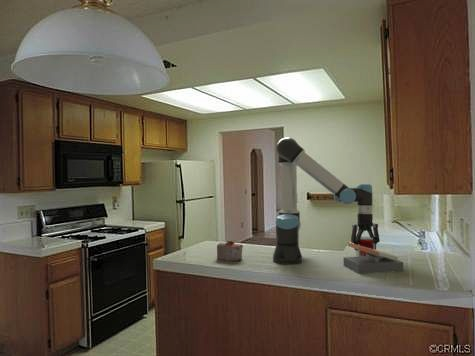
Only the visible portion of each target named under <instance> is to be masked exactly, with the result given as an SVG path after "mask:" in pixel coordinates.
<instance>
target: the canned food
mask: <svg viewBox="0 0 475 356" xmlns="http://www.w3.org/2000/svg"><path fill="white" fill-rule="evenodd" d="M358 244H359V245H360V246H363V247H367V248H371V249H373V238H371V237H370V236H362V235H361V238H360V241H359V243H358ZM366 254H369V253H366V252H364V251H360V256H366Z"/></svg>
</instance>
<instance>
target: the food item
mask: <svg viewBox="0 0 475 356" xmlns="http://www.w3.org/2000/svg"><path fill="white" fill-rule="evenodd" d="M243 248H244V245H243V244H240V243H239V244H238V243H235V241H233V240H230V241H229V240H228V241H227V242H219V243H217V245H216V259H217V260H218V261H219V260H220V261H226V262H229V261H230V262H231V261H233V262H238V261H241V260H242V259H243Z"/></svg>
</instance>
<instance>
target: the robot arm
mask: <svg viewBox="0 0 475 356" xmlns="http://www.w3.org/2000/svg"><path fill="white" fill-rule="evenodd" d="M276 153H277V154H278V155H277V157H278V158H277V159H278V160H277V162H278V165H279V166H280V169H281V170H280V172H281V173H280V178H281V179H280V184H281V185H280V187H281V188H280V189H281V190H280V191H281V195H280V196H281V198H280V199H281V201H280V203H281V209H280V210H279V211H278V215H277V216H276V218H275V243H276V244H275V248H274V252H273V254H272V261H273V262H274V263H277V264H282V265H283V264H284V265H296V264H300V263H303V255H302V252H301V250H300V249H301V248H300V245H299V243H300V241H299V239H300V238H299V236H300V235H299V232H300V229H301V220H300V219H301V213H300V210H298V199H297V198H298V197H297V195H298V194H297V193H298V192H297V191H298V190H297V189H298V188H297V187H298V186H297V182H298V181H297V180H298V179H297V178H298V177H297V172H298V171H297V169H298V168H297V166H298V167H299V169H301V170H302V171H304V172H305V174H307V175H308V176H310V177H311V178H312V179H313V180H315V181H316V182H317V183H319V184H320V185H321V186H322V187H324V188H325V189H326V190H327V191H328V192H330V193H331V194H332V195H333V201H334V202H336V203H337V202H338V203H343V204H344V205H350V204H353V203H357V206H356V207H357V211H356V212H357V222H356V223H353V224H351V226H352V231H351V237H350V243H352V244H356V245H359V244H358V243H359V241H360V238H361V237H362V235H363V234H364V232H367V233H368V237H371V238H373V249H374V250H377V245H378V243H380V235H379V224H378V223H375V222H373V221H374V220H373V219H374V218H373V217H374V215H373V185H371V183H370V184H369V183H368V184H367V183H364V184H363V183H362V184H361V183H358V184H357V185H356V187H349V186H348V185H346V184H345V183H344V182H342V181H341V180H340V179H339V178H337V177H336V176H335V175H334V174H332V173H331V172H330V171H329V170H327V169H326V168H325V167H324V166H322V165H321V164H320V163H318V161H316V160H315V159H313V158H312V157H311V156H310V155H308V154H307V153H306V151H305V149H304V148H303V147H302V146H301V145H299V143H298V142H297V141H296V140H295V139H294V138H292V137H284V138H281V139H280V140H278V142H277V144H276ZM359 246H360V245H359ZM353 249H354V251H355V257H359V256H360V250H357V249H355V248H353Z"/></svg>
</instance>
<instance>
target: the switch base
mask: <svg viewBox="0 0 475 356" xmlns="http://www.w3.org/2000/svg"><path fill="white" fill-rule="evenodd" d="M343 266H344V267H345V268H348V269H349V270H351V271H353V272H355V273H356V274H375V273H374V272H378V273H391V272H392V271H395V272H404V261H401V260H398V259H397V260H394V259H391V258H387V257H383V256H379V257H376V256H374V255H371V254H366V256H359V257H357V256H344V257H343ZM392 273H393V272H392Z"/></svg>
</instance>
